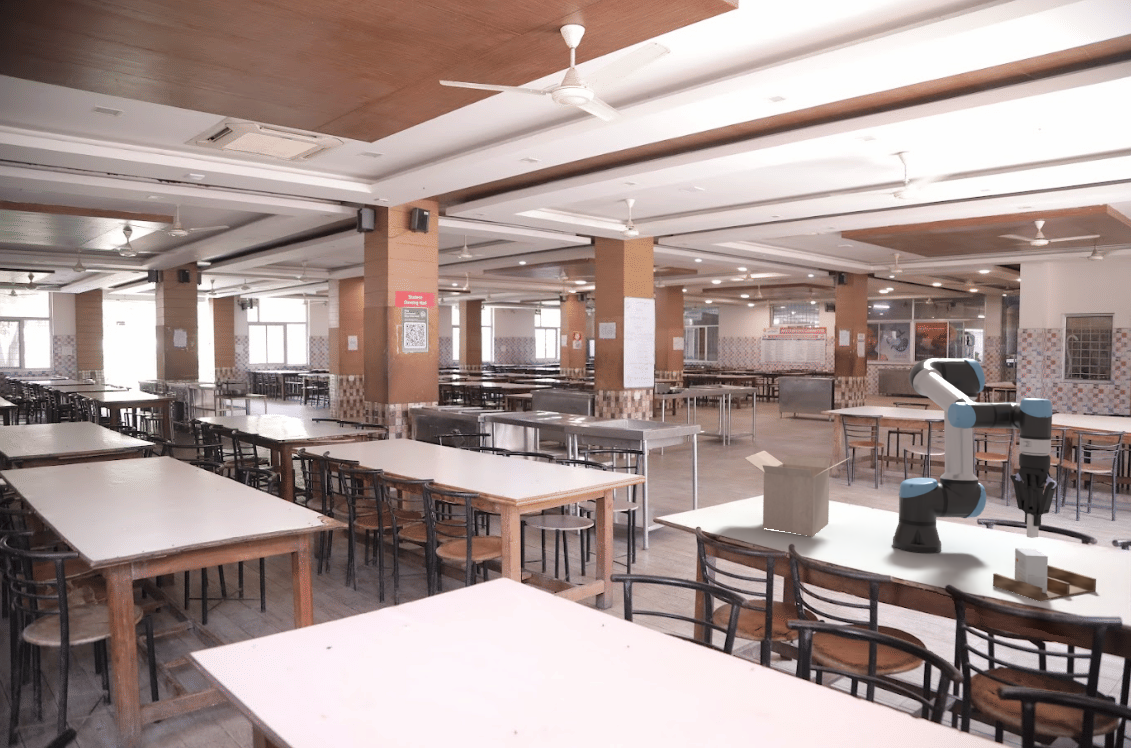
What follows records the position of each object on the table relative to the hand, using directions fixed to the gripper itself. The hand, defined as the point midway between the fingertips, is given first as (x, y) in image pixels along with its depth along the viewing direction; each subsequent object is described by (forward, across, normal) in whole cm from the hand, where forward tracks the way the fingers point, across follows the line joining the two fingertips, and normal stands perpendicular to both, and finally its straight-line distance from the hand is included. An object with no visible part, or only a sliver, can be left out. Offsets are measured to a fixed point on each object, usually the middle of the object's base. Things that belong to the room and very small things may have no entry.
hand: (1032, 536), depth 213 cm
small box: (+15, 0, 0) cm, 15 cm away
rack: (+16, 0, +6) cm, 16 cm away
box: (+15, -84, -13) cm, 87 cm away
